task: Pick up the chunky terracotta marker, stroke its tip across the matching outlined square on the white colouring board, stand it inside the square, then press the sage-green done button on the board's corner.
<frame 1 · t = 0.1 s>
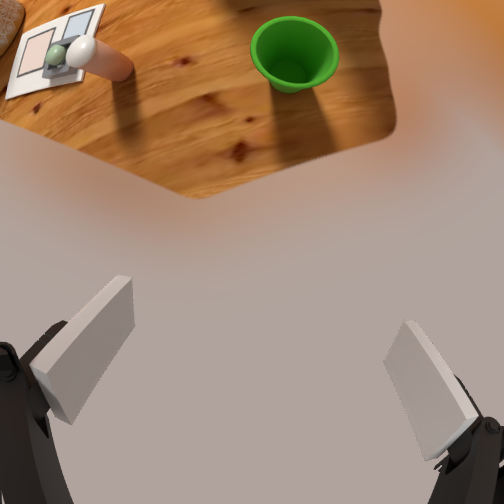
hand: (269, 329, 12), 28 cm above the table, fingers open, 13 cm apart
sheet: (47, 52, 29), on the table
planter: (5, 33, 25), on the table
button housing: (68, 59, 30), resting on sheet
cup: (287, 77, 32), on the table
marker: (122, 70, 32), on the table
done button: (56, 55, 27), point 4 cm above the table, slide at 0.0 cm
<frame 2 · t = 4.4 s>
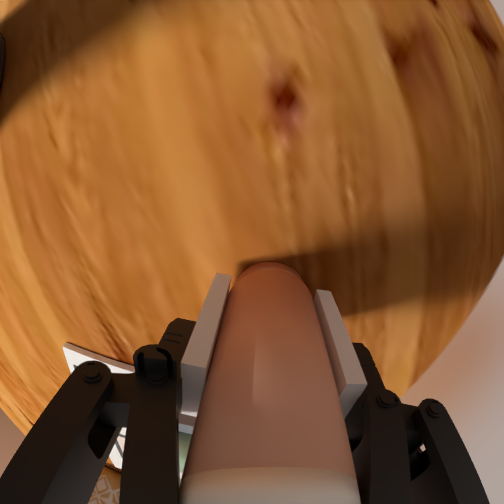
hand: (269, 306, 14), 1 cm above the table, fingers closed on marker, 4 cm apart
sheet: (162, 445, 22), on the table
planter: (109, 477, 30), on the table
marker: (269, 295, 15), on the table, touching gripper
done button: (182, 452, 16), point 4 cm above the table, slide at 0.0 cm
when the fingers open (2 cm above the table, at t = 9.5 s): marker stays where it is, resting on sheet.
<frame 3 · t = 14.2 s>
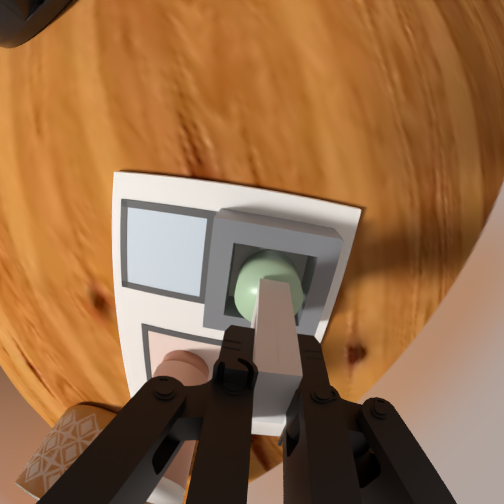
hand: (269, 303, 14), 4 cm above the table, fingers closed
sheet: (213, 341, 21), on the table
planter: (121, 437, 29), on the table
button housing: (268, 266, 18), resting on sheet
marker: (185, 367, 21), point 1 cm above the table, touching sheet
done button: (268, 287, 16), point 3 cm above the table, slide at 0.6 cm, touching gripper
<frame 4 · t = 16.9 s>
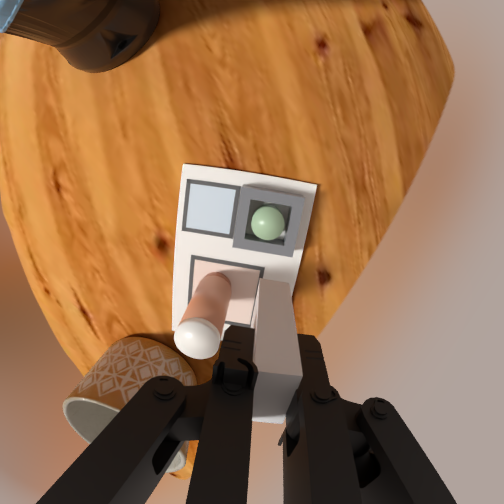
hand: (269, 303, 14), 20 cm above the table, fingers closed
sheet: (235, 265, 36), on the table
planter: (152, 370, 44), on the table
button housing: (267, 217, 33), resting on sheet
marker: (216, 285, 36), point 1 cm above the table, touching sheet
done button: (267, 221, 31), point 2 cm above the table, slide at 1.2 cm
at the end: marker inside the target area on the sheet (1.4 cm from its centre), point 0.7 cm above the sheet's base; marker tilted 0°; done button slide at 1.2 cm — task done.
